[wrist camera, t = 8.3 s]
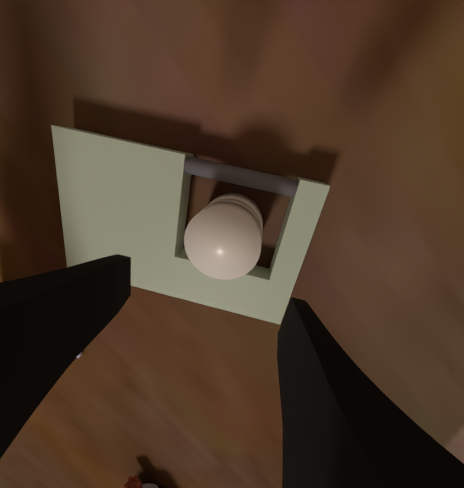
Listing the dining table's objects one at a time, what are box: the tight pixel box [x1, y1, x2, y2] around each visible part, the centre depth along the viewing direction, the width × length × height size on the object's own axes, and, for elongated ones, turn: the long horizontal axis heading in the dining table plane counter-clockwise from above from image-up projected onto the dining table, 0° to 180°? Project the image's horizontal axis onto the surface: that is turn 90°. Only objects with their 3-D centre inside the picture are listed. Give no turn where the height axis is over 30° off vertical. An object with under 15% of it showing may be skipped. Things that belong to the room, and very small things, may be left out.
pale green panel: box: [51, 125, 330, 324], centre depth 19 cm, size 20×12×2 cm, turn 79°
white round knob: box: [184, 193, 263, 280], centre depth 17 cm, size 5×5×5 cm
